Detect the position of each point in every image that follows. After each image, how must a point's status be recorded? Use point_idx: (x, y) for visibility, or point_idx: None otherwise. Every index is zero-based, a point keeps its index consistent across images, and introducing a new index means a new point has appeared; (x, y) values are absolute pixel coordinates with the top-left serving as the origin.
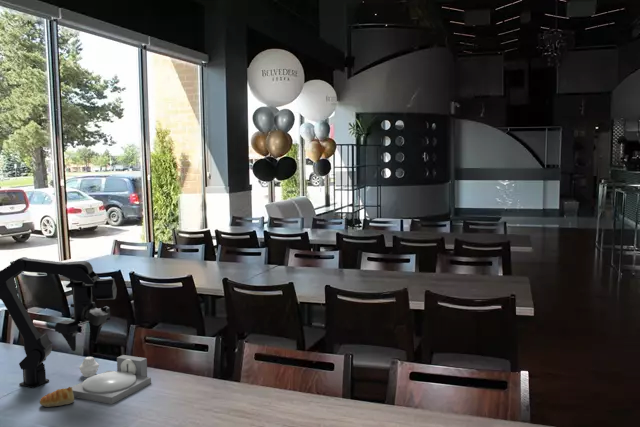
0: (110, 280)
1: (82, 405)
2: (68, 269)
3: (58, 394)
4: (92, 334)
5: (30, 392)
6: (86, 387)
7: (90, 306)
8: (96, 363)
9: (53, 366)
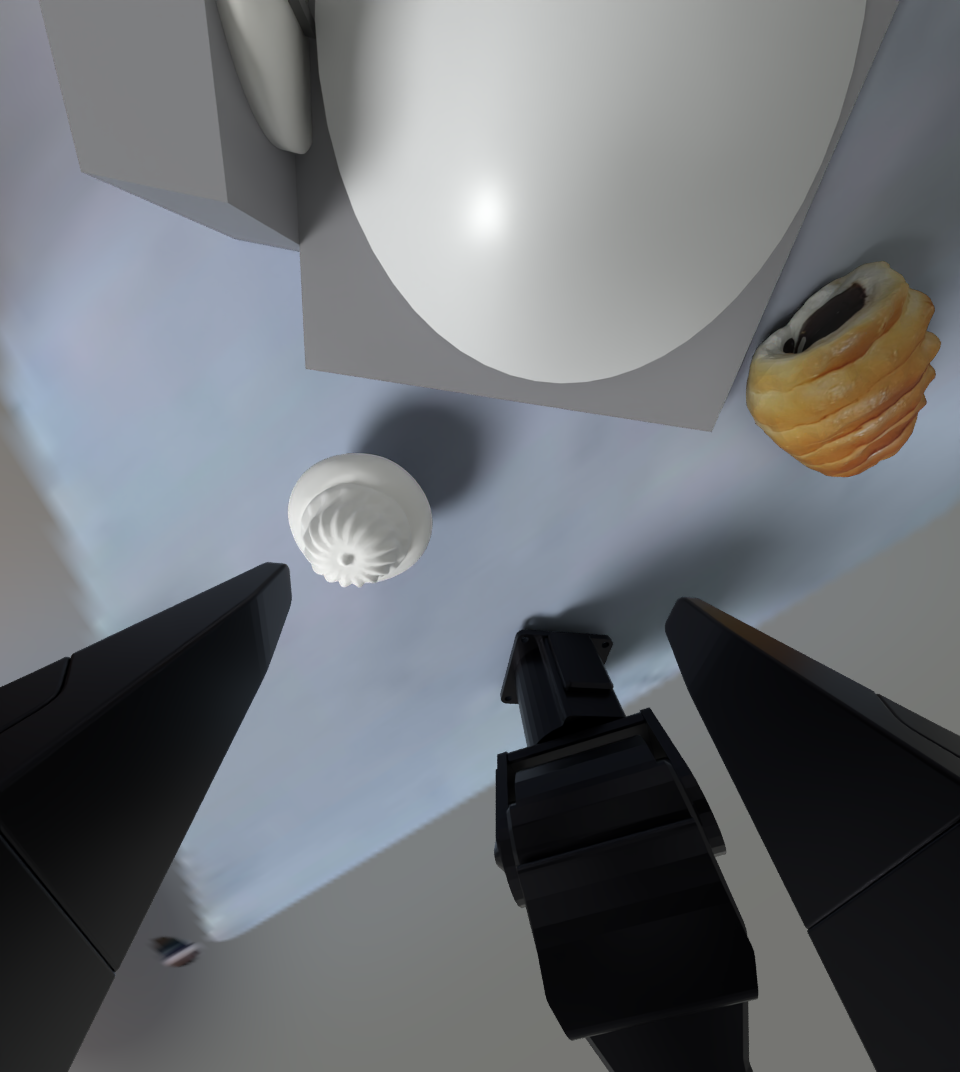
0: None
1: (879, 174)
2: None
3: (931, 360)
4: (222, 732)
5: (638, 619)
6: (774, 242)
7: None
8: (327, 481)
9: (321, 734)
